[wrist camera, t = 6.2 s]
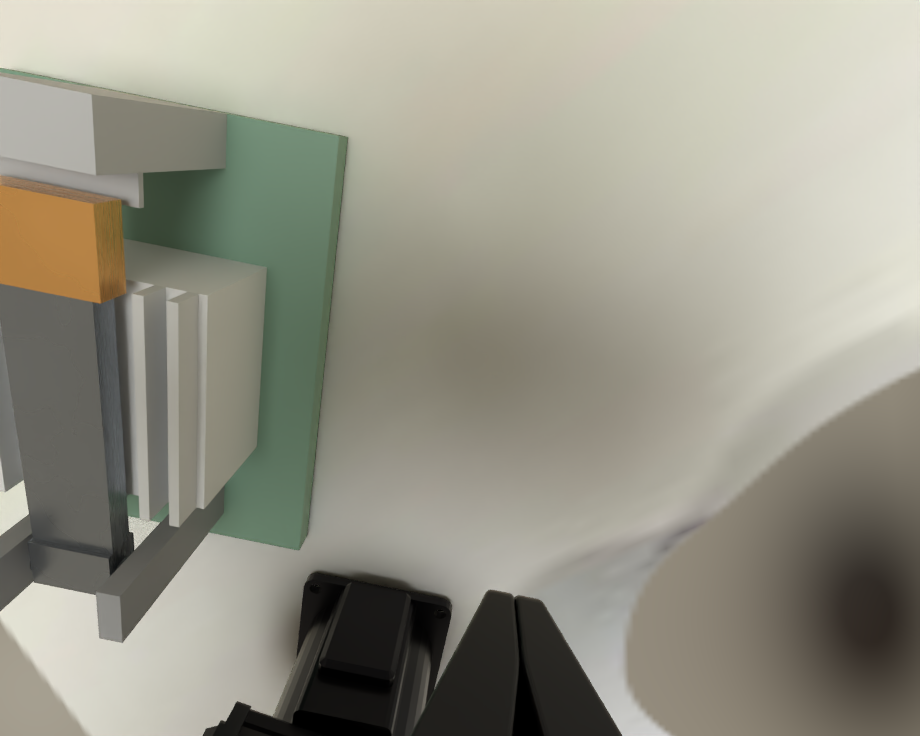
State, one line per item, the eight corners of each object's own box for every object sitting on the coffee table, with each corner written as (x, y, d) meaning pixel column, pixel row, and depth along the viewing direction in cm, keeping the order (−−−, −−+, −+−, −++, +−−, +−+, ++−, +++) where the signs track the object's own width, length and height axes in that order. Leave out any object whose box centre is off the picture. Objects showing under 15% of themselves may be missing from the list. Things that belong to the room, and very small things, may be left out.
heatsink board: (307, 535, 24) (227, 690, 17) (55, 483, 24) (-127, 618, 17) (347, 136, 18) (249, 127, 11) (14, 70, 18) (-290, 18, 11)
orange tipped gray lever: (145, 572, 19) (122, 600, 17) (51, 553, 19) (22, 579, 17) (126, 198, 14) (93, 203, 13) (0, 173, 14) (-45, 175, 13)
